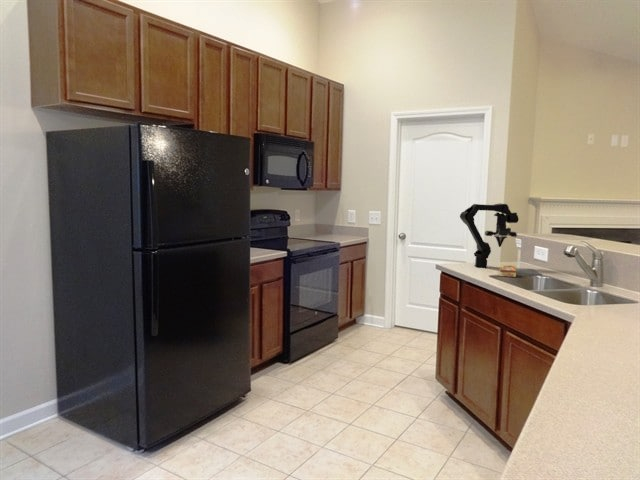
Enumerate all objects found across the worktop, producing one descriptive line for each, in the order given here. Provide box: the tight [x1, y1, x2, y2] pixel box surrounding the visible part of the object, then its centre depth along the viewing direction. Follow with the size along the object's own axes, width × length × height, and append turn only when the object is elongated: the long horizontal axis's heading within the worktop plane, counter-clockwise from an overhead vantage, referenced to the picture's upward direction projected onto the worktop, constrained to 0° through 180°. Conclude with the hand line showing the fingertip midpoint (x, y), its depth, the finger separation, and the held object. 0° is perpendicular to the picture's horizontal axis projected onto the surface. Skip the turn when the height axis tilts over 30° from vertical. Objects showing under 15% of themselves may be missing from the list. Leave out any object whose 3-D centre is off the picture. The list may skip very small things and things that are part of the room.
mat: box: [516, 268, 543, 276], centre depth 291 cm, size 16×15×1 cm
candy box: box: [499, 264, 517, 278], centre depth 283 cm, size 9×4×15 cm
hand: (499, 246), depth 306 cm, fingers closed
